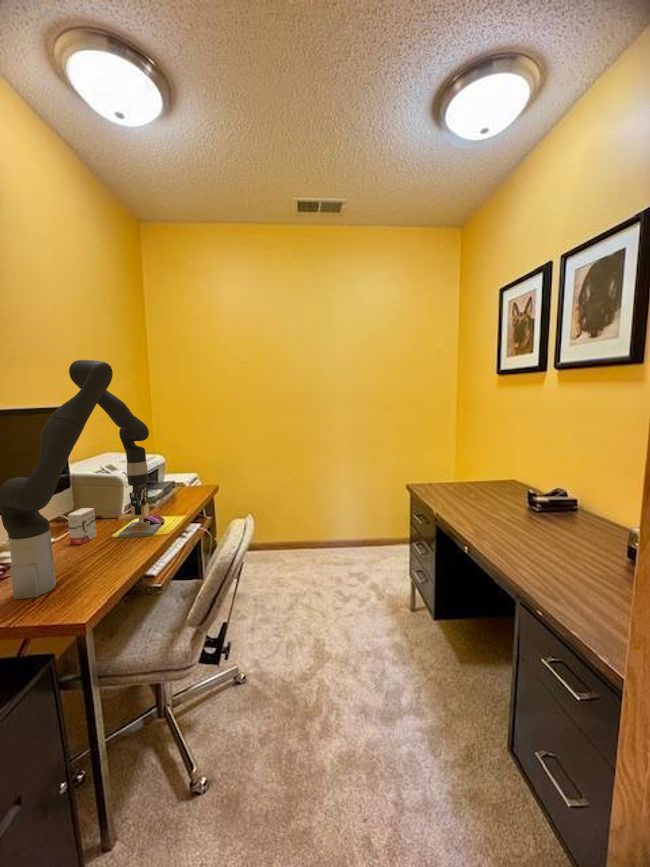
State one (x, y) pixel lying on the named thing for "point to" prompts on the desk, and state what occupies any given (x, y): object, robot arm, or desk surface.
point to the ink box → (82, 525)
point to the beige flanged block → (132, 516)
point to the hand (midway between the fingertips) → (140, 512)
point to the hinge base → (140, 529)
